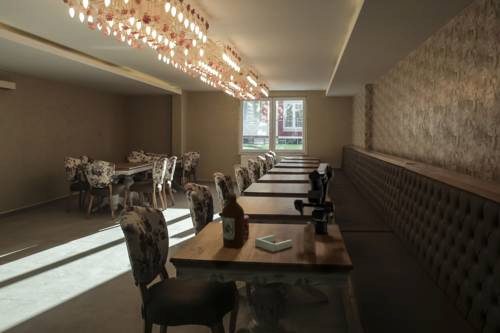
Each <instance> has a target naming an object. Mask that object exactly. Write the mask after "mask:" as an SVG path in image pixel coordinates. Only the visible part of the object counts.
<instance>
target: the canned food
mask: <svg viewBox="0 0 500 333" xmlns="http://www.w3.org/2000/svg"><path fill="white" fill-rule="evenodd" d="M249 237H250V216H249V215H247V214H244V232H243V240H246V239H249Z"/></svg>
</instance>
